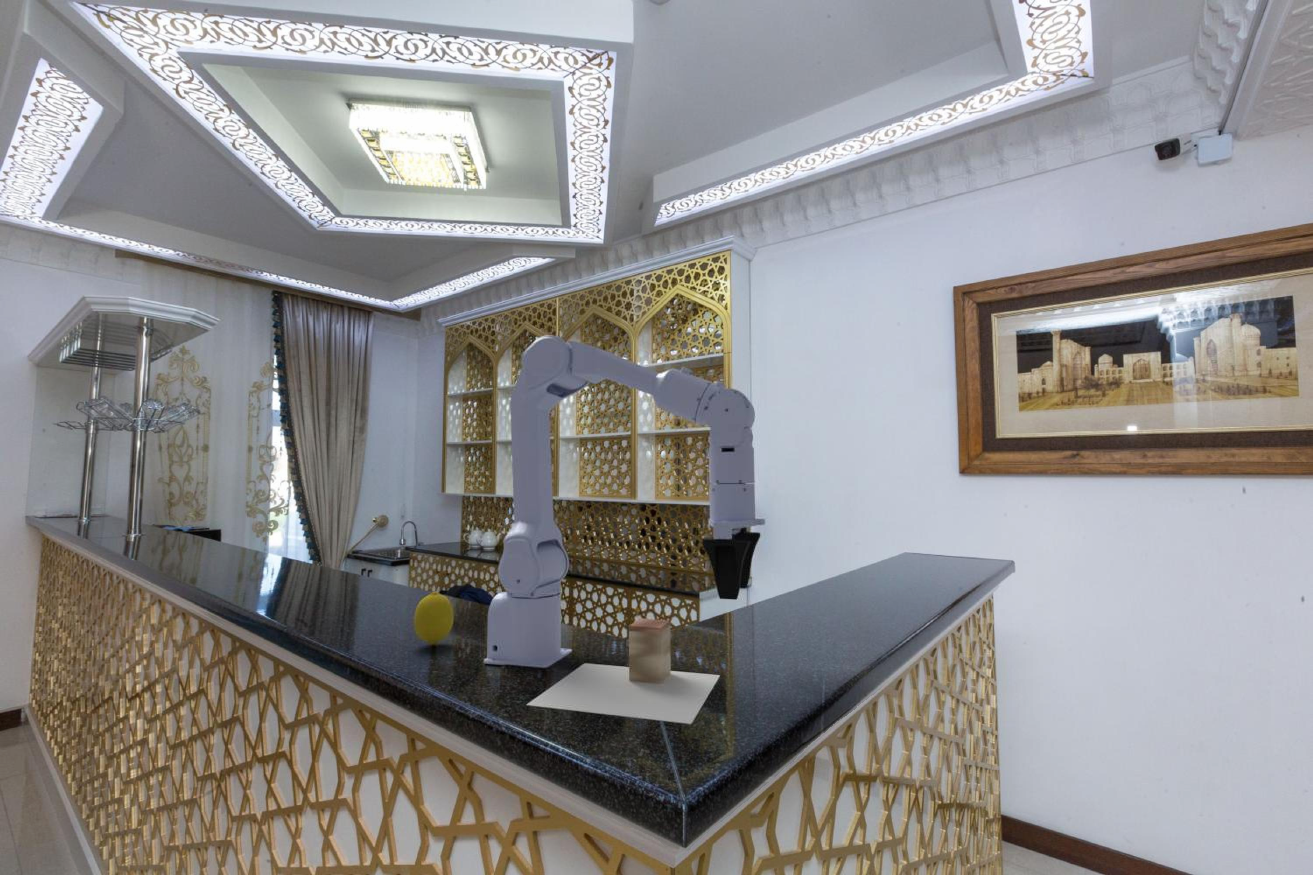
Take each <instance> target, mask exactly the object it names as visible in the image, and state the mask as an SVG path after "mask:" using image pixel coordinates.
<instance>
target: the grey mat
mask: <svg viewBox="0 0 1313 875" xmlns="http://www.w3.org/2000/svg"><path fill="white" fill-rule="evenodd" d="M720 676H721V674H720V675H719V674H710V673H697V672H687V671H676V670H671V674H670V675H669V676H668V677H667V678H666V679H665V681H664V682H663V683H662V684H654V683H644V682H633V681H629V666H619V665H610V664H609V665H608V664H598V663H597V664H596V663H586V662H585V663H583V664H581V665H580V666H579V667H577V668H576V669H574V670H573V671H572V672H570V673H569V674H568V675H566V676H565V677H563V678H561V679H560V681H558V682H556V683H555V684H553V685H552V686H551V687H549V688H548V689H546V690H545V691H544V692H542V693H541V694H539V695H538V696H536V697H535V698H533V699H532V700H531V701H530V702H528V703H527V704H526V706H530V707H540V708H548V709H556V710H564V711H573V712H582V713H592V714H599V715H608V716H618V717H626V718H634V719H643V720H653V721H660V722H669V723H670V722H671V723H679V724H685V725H692V724H693V722H694V720H695V719H696V717H697V716H698V714H699V713H700V710H701V709H702V707H703V705H704V704H705V702H706V700H707V699H708V697H709V695H710V694H711V692H712V690H713V688H714V687H715V685H717V682H718V680H719V678H720Z"/></svg>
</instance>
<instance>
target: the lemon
mask: <svg viewBox="0 0 1313 875" xmlns="http://www.w3.org/2000/svg"><path fill="white" fill-rule="evenodd" d="M453 624H454V609H453V605H452V603H451V601H450V599H449V598H447V597H446V596H445V595H442V594H440V593H439V592H437V591H432V592H431V593H430V594H428V595H426V596H425V597H424V598H422V599H421V600H420V601H419V603H418V604H417V606H416V608H415V612H414V618H413V628H414V632H415V634H416V636H417V637H418V638H419V639H420V640H422V641H423V642H426V643H427V644H428V645H430V644H436V643H437V644H438V643H439V642H441V641H442V640H444V639H445V638H447V636H448V635H449V634H450V632H451V630H452V628H453ZM437 644H436V645H437Z"/></svg>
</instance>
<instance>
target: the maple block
mask: <svg viewBox="0 0 1313 875" xmlns="http://www.w3.org/2000/svg"><path fill="white" fill-rule="evenodd" d="M671 661H672V660H671V620H670V619H669V620H668V619H653V618H638V619H637V620H635V621H633V623H630V624H629V625H628V667H629V681H633V682H644V683H654V684H662V683H663V682H664V681H665V679H666V678H667V677H668V676H669V675H670V674H671V671H672V670H671V668H672V666H671V663H672V662H671Z"/></svg>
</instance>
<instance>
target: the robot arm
mask: <svg viewBox="0 0 1313 875" xmlns="http://www.w3.org/2000/svg"><path fill="white" fill-rule="evenodd" d="M566 341H567V342H566ZM566 341H565V340H564V339H562V338H561V337H559V336H558V335H557V336H556V335H553V334H546V335H543V336H540V337H538V338H537V339H535V340H534V341H533V342H532V343H531V344H530V345H528V347H527V348H526V349H525V350H524V351H523V352H522V353H521V354H520V356H521V358H520V359H521V368H520V372H519V374H518V377H517V380H516V382H515V385H514V387H513V390H512V392H511V396H510V401H509V402H510V430H511V433H510V434H511V435H510V437H511V457H512V458H511V459H512V462H511V464H512V465H511V466H512V488H513V489H512V492H513V494H512V496H513V522H514V523H513V525H512V526H511V528H510V529H509V531H508V532H507V534H506V536H505V537H504V539H503V553H502V556H501V558H500V560H499V562H498V568H497V572H498V579H499V581H500V583H501V585H502V586H503V588H504V589H505V591H503V592H502V591H501V592H499V593H497V594H496V595H494V596H493V598H492V599H491V602H490V605H489V608H488V612H487V637H486V638H487V640H486V641H487V642H486V646H487V647H486V649H487V650H486V651H487V652H486V658H483V664H488V665H500V666H504V665H511V666H520V667H531V668H541V669H542V668H543V669H544V668H545V669H546V668H549V667H551V666H552V665H554V664H555V663H557V662H558V661H560V660H561V659H564V658H565V657H566V656H568V655H569V654H571V653H572V652H573V649H571V648H561V646H562V645H561V644H562V643H561V642H562V641H561V640H562V639H561V636H562V635H561V634H562V631H561V630H562V629H561V628H562V625H561V622H562V584H561V583H562V580H563V579H564V578H565V577H566V576H567V575H568V574H567V573H568V571H569V566H570V561H569V560H570V559H569V555H568V553H567V551H566V549H565V547H564V543H563V536H562V532H561V530H560V529H559V527H558V525H557V524H556V522H555V519H554V499H553V496H554V495H553V475H552V474H553V473H552V469H553V468H552V451H551V448H552V446H551V426H550V425H551V420H550V413H551V411H552V410H553V409H554V408H556V406H558V404H560V402H561V401H564V400H565V399H567V398H568V397H570V396H573V395H574V394H576V393H578V392H580V391H582V390H583V389H585V388H586V387H588V385H589V384H590V383H591V384H593V385H597V384H598V383H601V382H602V381H605V380H609V381H611V382H614V383H617V384H620V385H622V386H625V387H629V388H631V389H634V390H637V391H640V392H642V393H645V394H647V395H650V396H652V398H653V400H654V404H655V406H656V407H657V409H659V410H661V411H664V412H667V413H669V414H672V415H674V416H677V417H679V418H682V419H684V420H687V421H689V422H691V423H694V424H697V425H699V426H703V425H707V426H708V427H709V428H710V429H709V448H708V465H709V466H708V468H709V469H708V471H709V473H708V474H709V475H708V476H709V479H708V480H709V482H708V483H709V484H708V486H709V518H708V521H707V522H708V524H707V525H708V526H710V527H712V530H713V531H712V532H713V534H712V535H713V537H703V538H702V539H701V544H702V547H703V549H704V551H705V553H706V555H707V557H708V560H709V562H710V565H711V568H712V571H713V578H714V582H715V586H716V590H717V594H718V598H719V599H720V600H732V601H733V600H738V598H739V597H738V596H739V593H740V590H741V589H743V590H744V589H748V585H749V580H750V575H751V574H750V573H751V567H752V562H753V556H754V552H755V551H756V547H757V545H758V542H759V540H760V538H761V532H758V531H750V527H757V526H764V525H765V524H766V519H765V518H756V495H755V494H756V493H755V492H756V491H755V483H756V482H755V448H754V446H753V440H754V435H753V430H752V427H753V426H754V423H755V419H756V413H755V408H754V406H753V404H752V402H751V401H750V400H749V398H747V396H746V395H745V394H744V393H743V392H741V391H740V390H738V389H736V388H729V387H728V388H725V387H726V384H725V383H724V382H722V381H719V380H718V381H716V383H714V382H712V381H709V380H706V379H704V378H701V377H698V376H696V375H693V373H694V371H693V370H692V369H690V368H687V367H685V366H682V367H681V369H680V370H679V369H677V368H670V369H667V370H665V371H663V372H657V371H654V370H652V369H649V368H647V367H645V366H642V365H640V364H638V363H635V362H633V361H630V360H628V359H625V358H623V357H621V356H618V355H617V354H614V353H613V352H612V353H611V352H609V351H606V350H605V349H601V348H599V347H597V346H592V345H589V344H586V343H583V342H580V341H577V340H571V339H567V340H566Z"/></svg>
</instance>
